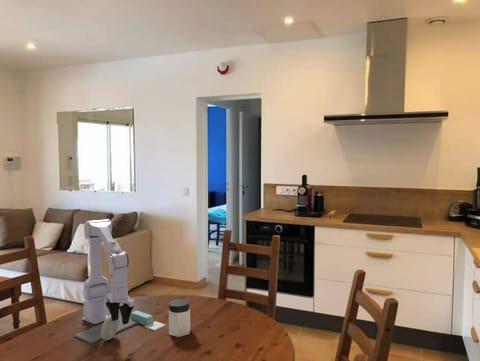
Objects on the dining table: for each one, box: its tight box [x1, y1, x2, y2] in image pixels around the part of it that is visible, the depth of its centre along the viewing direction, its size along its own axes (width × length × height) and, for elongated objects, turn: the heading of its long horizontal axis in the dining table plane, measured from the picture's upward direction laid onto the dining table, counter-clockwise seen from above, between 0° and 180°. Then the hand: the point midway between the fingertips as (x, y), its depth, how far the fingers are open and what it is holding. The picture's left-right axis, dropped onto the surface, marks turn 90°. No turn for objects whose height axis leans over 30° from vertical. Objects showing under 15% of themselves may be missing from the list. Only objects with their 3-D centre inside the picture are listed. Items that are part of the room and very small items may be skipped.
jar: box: [168, 298, 191, 338], centre depth 156 cm, size 9×8×12 cm
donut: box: [101, 313, 120, 341], centre depth 149 cm, size 10×4×10 cm, turn 168°
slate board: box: [74, 315, 139, 345], centre depth 159 cm, size 11×22×1 cm, turn 145°
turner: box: [130, 310, 167, 332], centre depth 164 cm, size 16×6×4 cm, turn 55°
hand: (120, 321), depth 145 cm, fingers open, 5 cm apart
